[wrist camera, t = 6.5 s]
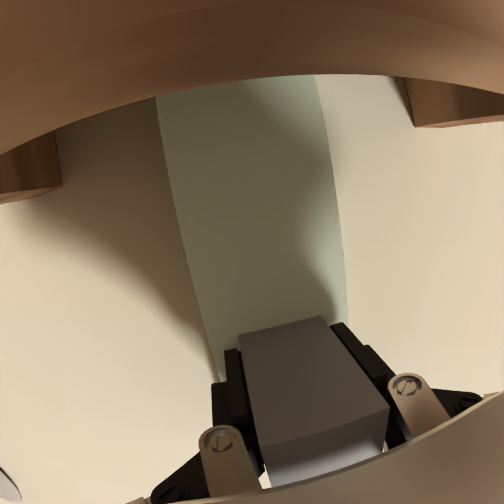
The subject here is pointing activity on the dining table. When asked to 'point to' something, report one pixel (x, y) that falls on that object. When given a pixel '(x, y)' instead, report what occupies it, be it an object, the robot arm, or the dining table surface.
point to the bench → (229, 60)
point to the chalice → (8, 489)
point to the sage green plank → (272, 265)
